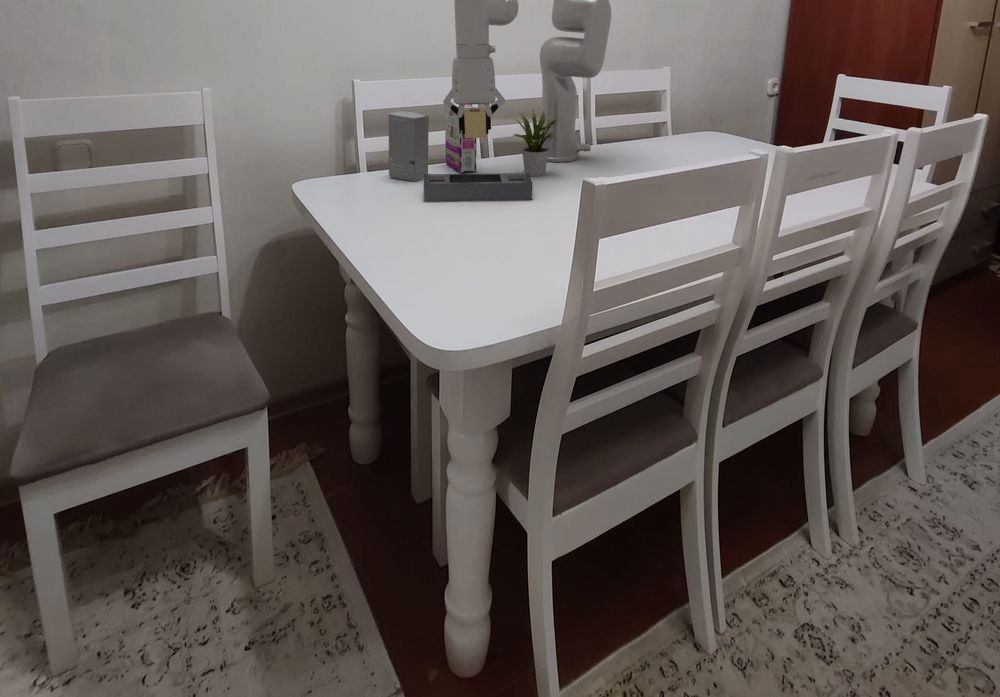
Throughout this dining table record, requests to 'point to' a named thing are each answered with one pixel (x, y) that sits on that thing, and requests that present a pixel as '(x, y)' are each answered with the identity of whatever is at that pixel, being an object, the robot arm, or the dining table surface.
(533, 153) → the house plant
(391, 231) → the dining table surface
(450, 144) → the candy bar box
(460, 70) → the robot arm
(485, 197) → the grey slotted block
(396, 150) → the skincare box
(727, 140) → the dining table surface
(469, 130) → the brass block
